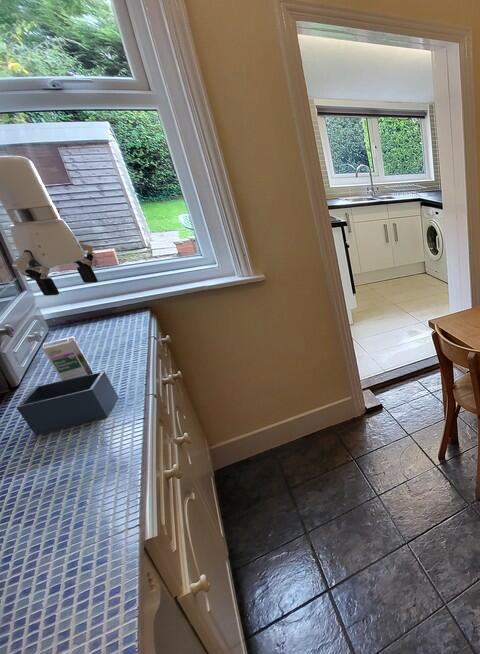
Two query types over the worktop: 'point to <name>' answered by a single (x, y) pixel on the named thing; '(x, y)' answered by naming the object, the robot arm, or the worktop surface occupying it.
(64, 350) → the syrup box
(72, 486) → the worktop surface
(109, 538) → the worktop surface
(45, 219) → the robot arm
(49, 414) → the tub
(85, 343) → the worktop surface
